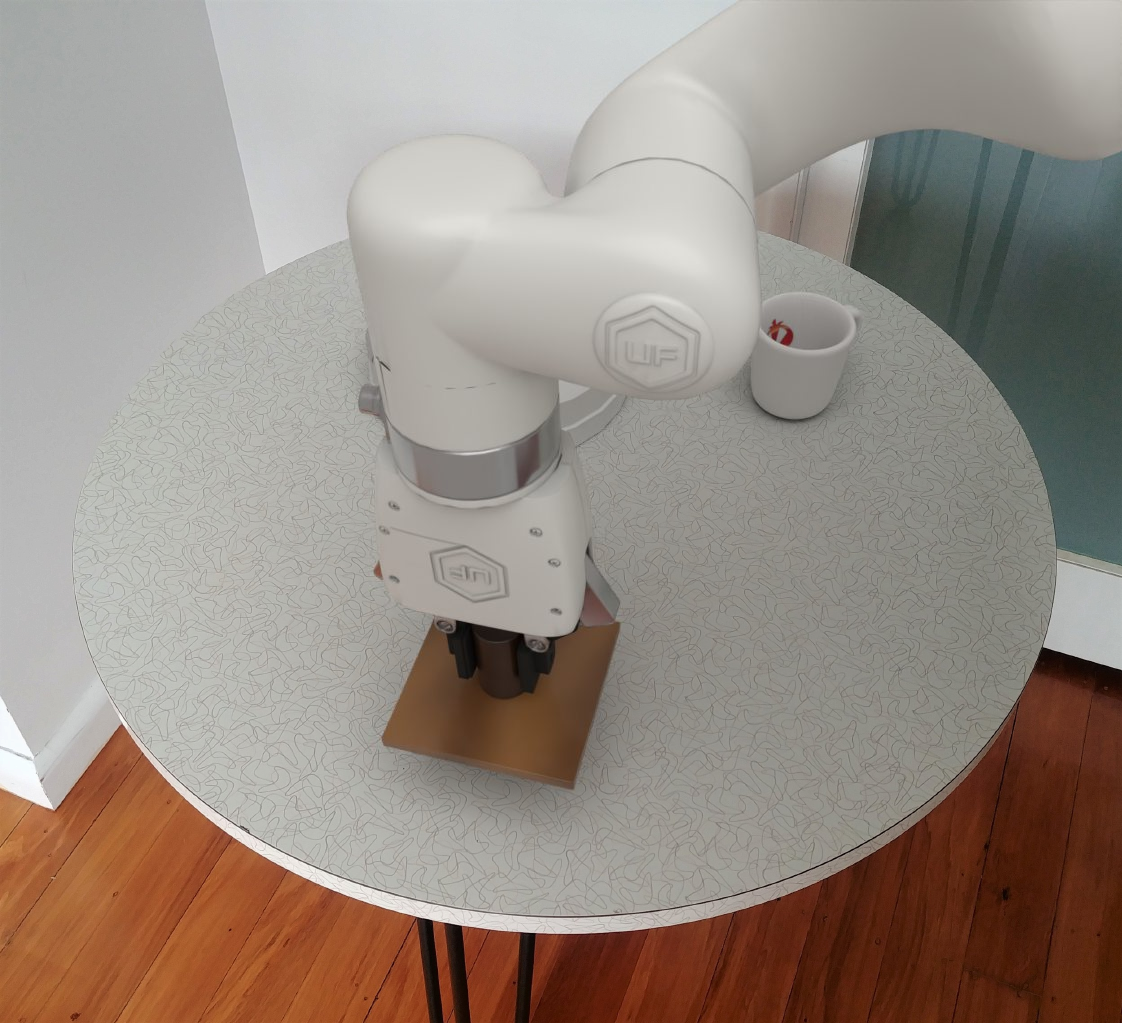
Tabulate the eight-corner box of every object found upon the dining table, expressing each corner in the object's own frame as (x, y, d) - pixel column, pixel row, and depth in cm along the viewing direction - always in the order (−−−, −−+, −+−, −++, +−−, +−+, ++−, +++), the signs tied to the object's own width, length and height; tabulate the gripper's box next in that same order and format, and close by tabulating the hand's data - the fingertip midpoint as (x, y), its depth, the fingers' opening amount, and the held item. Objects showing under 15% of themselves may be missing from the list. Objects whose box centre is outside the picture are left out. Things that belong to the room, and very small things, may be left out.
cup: (813, 343, 93) (828, 266, 87) (882, 391, 88) (903, 312, 82) (721, 392, 88) (731, 314, 83) (789, 445, 84) (804, 366, 78)
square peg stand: (620, 629, 64) (621, 562, 59) (573, 790, 57) (570, 728, 52) (448, 595, 66) (437, 527, 62) (383, 745, 59) (364, 682, 54)
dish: (319, 415, 87) (308, 368, 84) (453, 274, 101) (449, 228, 97) (561, 499, 80) (560, 451, 77) (671, 335, 94) (674, 288, 90)
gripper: (268, 452, 46) (344, 689, 59) (638, 519, 42) (630, 754, 56) (337, 346, 51) (393, 587, 64) (675, 398, 47) (659, 641, 61)
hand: (503, 663), depth 60 cm, fingers closed on square peg stand, 3 cm apart
